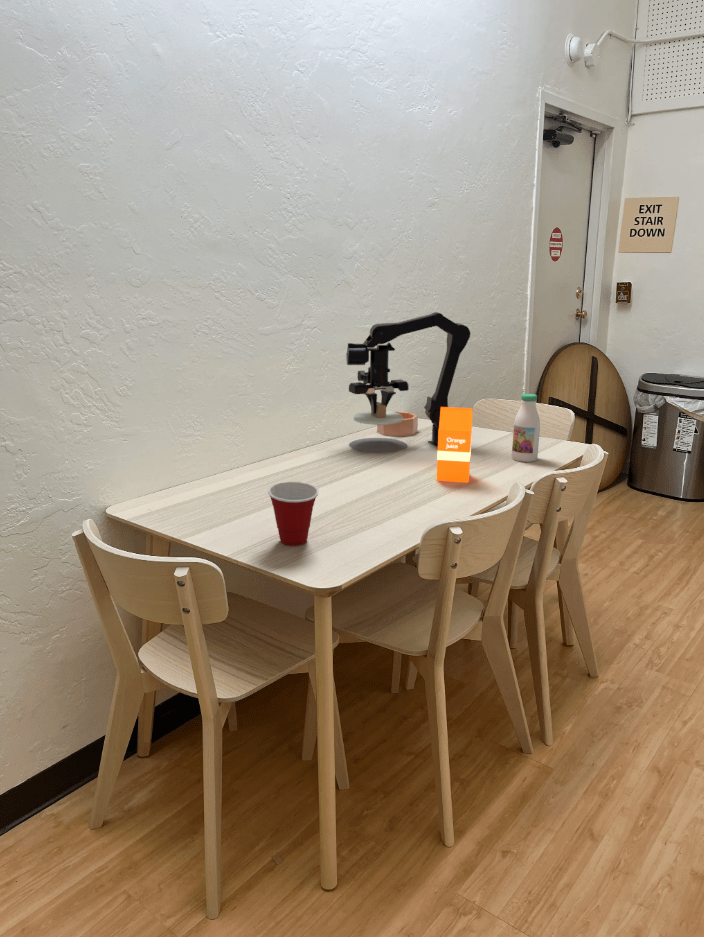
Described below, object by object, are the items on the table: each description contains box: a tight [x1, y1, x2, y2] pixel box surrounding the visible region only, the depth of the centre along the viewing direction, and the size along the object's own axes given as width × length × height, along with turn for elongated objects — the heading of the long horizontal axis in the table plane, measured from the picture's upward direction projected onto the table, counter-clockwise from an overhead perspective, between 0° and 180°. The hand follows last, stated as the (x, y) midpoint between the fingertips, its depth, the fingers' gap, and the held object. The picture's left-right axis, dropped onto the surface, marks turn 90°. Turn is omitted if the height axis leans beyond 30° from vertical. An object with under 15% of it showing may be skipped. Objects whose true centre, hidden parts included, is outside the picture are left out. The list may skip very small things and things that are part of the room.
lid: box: [353, 401, 403, 426], centre depth 229 cm, size 16×16×5 cm
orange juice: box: [436, 406, 473, 483], centre depth 197 cm, size 8×9×20 cm
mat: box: [348, 437, 408, 454], centre depth 232 cm, size 19×19×1 cm
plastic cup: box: [267, 481, 319, 547], centre depth 153 cm, size 11×11×12 cm
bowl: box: [376, 410, 419, 438], centre depth 249 cm, size 13×13×6 cm
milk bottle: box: [511, 393, 541, 463], centre depth 215 cm, size 8×8×20 cm
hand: (378, 413), depth 229 cm, fingers closed on lid, 2 cm apart
